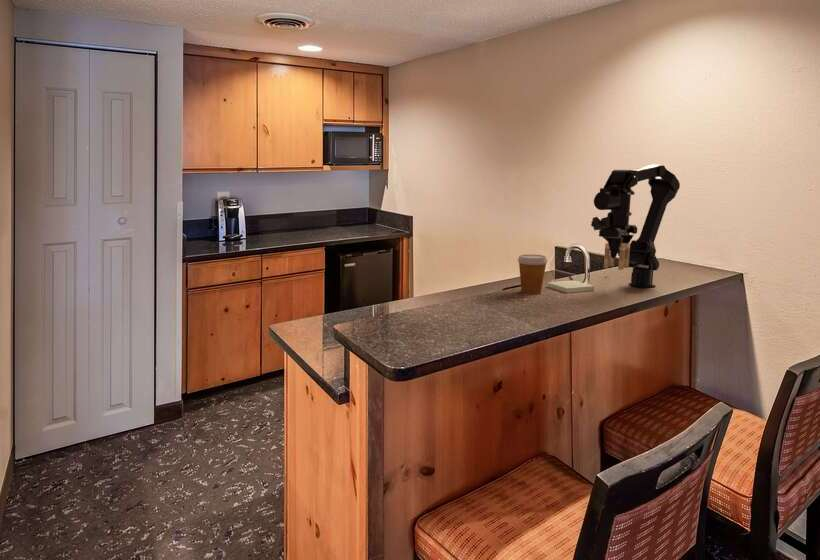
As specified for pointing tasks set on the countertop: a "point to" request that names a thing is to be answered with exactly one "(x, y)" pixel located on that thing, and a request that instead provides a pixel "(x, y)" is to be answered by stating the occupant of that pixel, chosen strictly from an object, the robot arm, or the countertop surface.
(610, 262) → the maple stool
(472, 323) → the countertop surface
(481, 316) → the countertop surface
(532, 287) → the disposable coffee cup
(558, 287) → the sage board
